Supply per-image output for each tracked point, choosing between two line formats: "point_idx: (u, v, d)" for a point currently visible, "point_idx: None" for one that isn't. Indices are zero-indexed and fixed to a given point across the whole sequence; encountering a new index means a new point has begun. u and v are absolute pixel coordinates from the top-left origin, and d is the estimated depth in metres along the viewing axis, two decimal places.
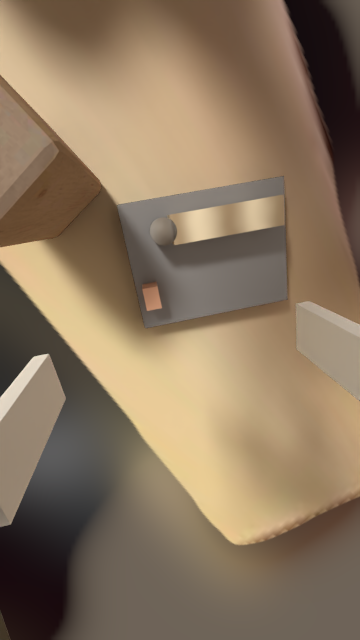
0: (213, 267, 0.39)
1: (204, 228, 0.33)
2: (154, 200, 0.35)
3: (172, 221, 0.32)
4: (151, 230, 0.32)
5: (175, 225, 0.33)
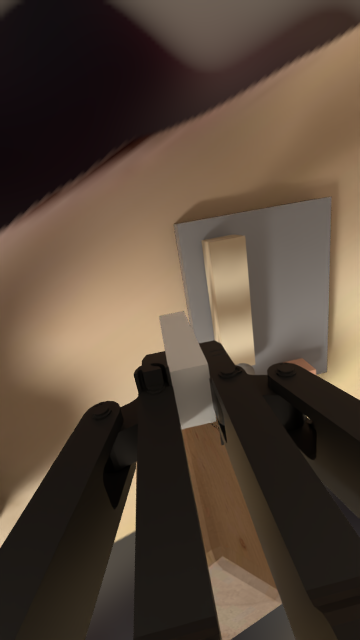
0: (274, 303, 0.33)
1: (241, 335, 0.29)
2: None
3: None
4: None
5: None
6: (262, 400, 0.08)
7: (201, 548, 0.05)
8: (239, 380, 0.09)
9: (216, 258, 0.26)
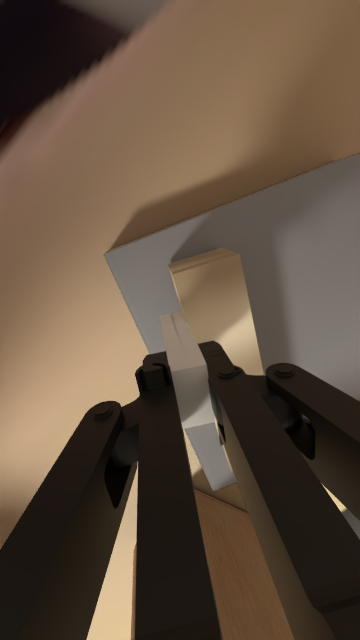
0: (294, 343, 0.20)
1: None
2: (198, 452, 0.23)
3: None
4: None
5: None
6: (261, 400, 0.08)
7: (202, 548, 0.05)
8: (238, 380, 0.09)
9: (190, 300, 0.14)
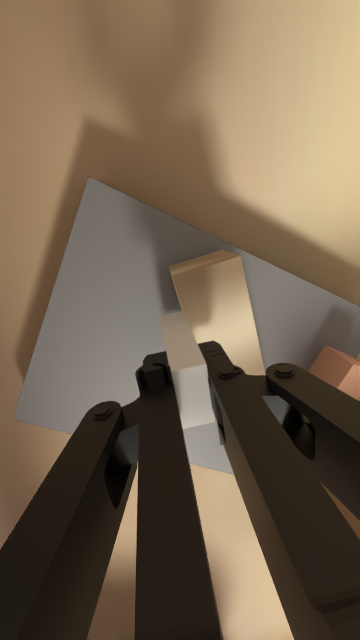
0: None
1: None
2: (224, 470, 0.23)
3: None
4: None
5: None
6: (261, 400, 0.08)
7: (202, 548, 0.05)
8: (238, 380, 0.09)
9: (191, 303, 0.14)
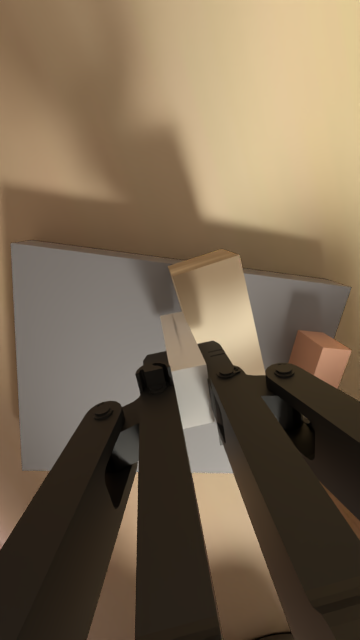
0: None
1: None
2: None
3: None
4: None
5: None
6: (261, 400, 0.08)
7: (203, 548, 0.05)
8: (238, 380, 0.09)
9: (191, 302, 0.14)
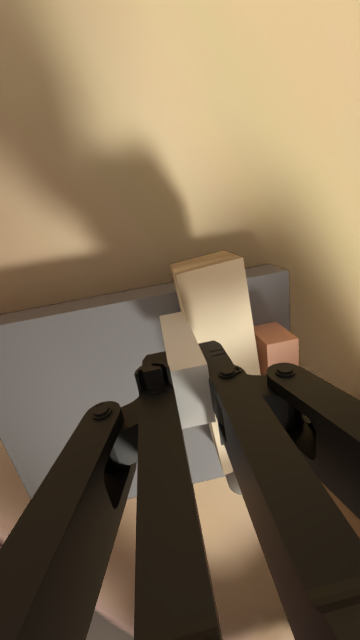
0: None
1: None
2: None
3: None
4: None
5: None
6: (262, 400, 0.08)
7: (202, 548, 0.05)
8: (239, 380, 0.09)
9: (192, 302, 0.14)
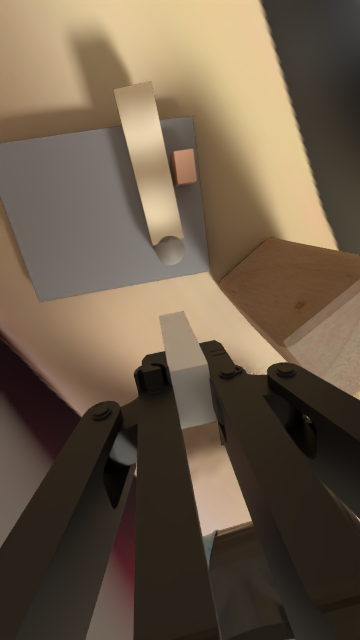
0: (104, 202, 0.31)
1: (163, 202, 0.29)
2: (173, 275, 0.35)
3: (159, 241, 0.30)
4: (170, 263, 0.31)
5: (163, 238, 0.30)
6: (262, 400, 0.08)
7: (201, 548, 0.05)
8: (239, 380, 0.09)
9: (124, 109, 0.25)
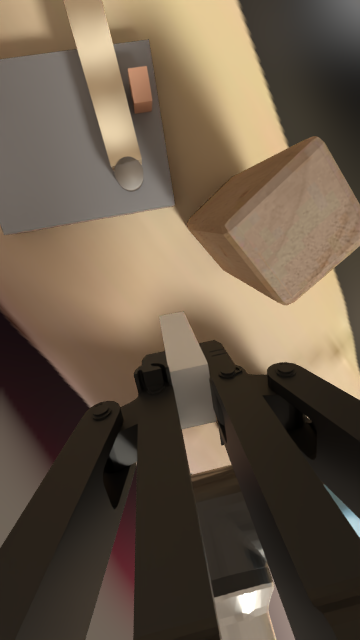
0: (65, 129, 0.32)
1: (119, 120, 0.29)
2: (138, 209, 0.36)
3: (117, 162, 0.30)
4: (129, 187, 0.31)
5: (120, 158, 0.30)
6: (262, 400, 0.08)
7: (201, 548, 0.05)
8: (239, 380, 0.09)
9: (74, 20, 0.26)
